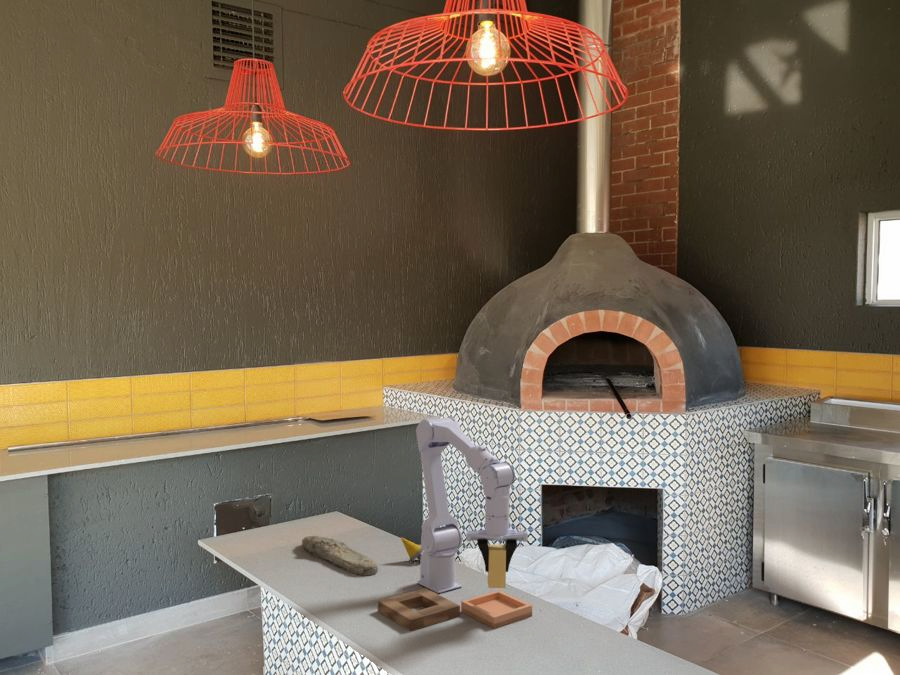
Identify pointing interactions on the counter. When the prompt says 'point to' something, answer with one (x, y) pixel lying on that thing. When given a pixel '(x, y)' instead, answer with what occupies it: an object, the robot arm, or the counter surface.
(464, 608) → the tray
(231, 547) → the counter surface
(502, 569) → the peg
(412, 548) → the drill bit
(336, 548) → the long grey stone
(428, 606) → the socket block
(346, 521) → the counter surface
